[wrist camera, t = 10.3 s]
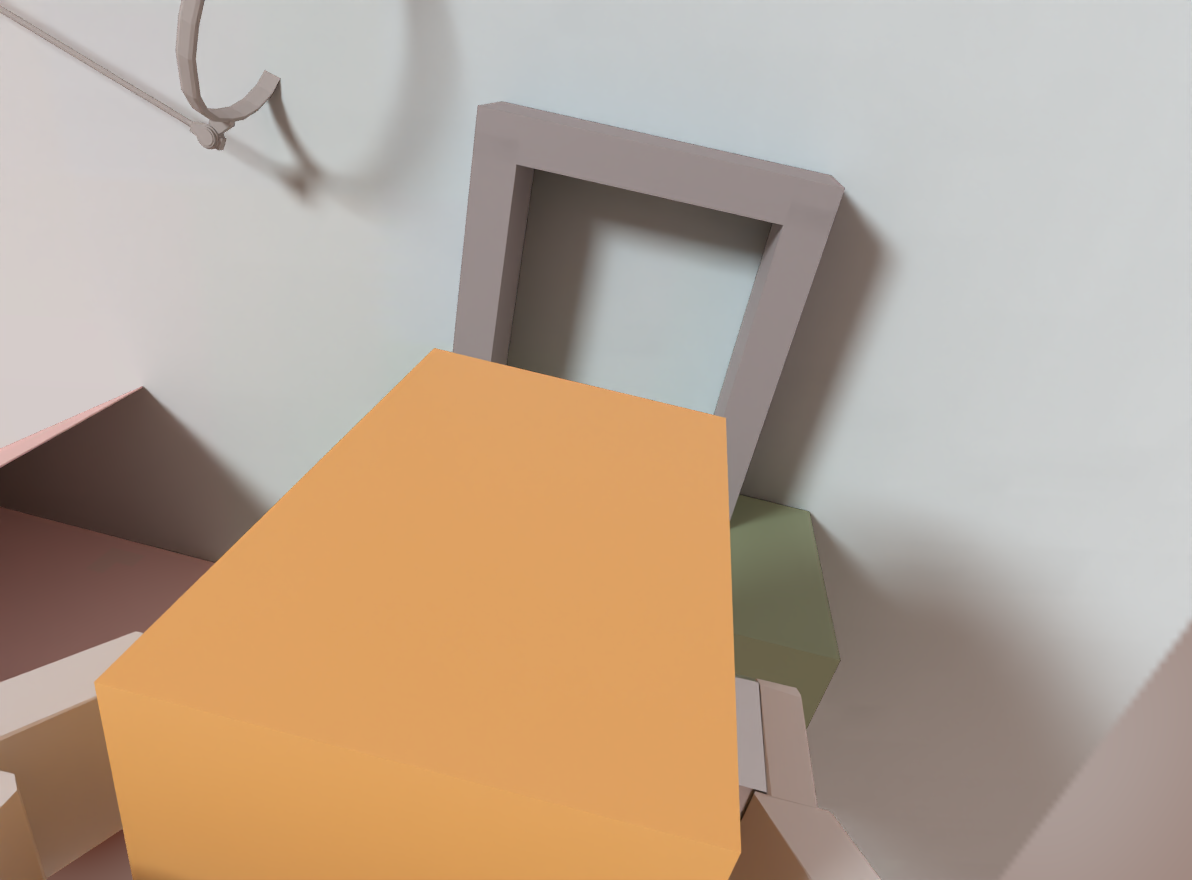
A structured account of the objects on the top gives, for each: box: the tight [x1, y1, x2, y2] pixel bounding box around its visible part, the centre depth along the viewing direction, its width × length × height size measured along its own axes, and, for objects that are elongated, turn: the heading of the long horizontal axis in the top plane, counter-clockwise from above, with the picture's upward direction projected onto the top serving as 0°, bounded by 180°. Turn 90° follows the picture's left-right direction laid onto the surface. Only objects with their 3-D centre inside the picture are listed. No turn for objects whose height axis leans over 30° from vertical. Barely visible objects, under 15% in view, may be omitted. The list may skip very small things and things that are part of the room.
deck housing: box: [453, 102, 845, 729], centre depth 18 cm, size 17×13×7 cm
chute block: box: [94, 348, 741, 880], centre depth 8 cm, size 6×4×6 cm, turn 169°
